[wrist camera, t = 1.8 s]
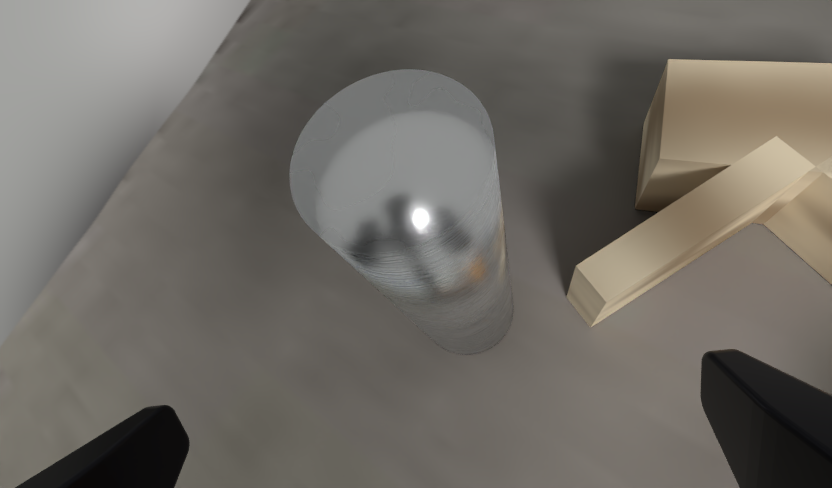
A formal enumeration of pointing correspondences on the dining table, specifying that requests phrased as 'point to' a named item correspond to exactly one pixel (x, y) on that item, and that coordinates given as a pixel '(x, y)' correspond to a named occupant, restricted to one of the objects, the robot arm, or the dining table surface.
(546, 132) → the dining table surface
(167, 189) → the dining table surface
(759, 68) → the v block
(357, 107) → the axle
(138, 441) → the robot arm
